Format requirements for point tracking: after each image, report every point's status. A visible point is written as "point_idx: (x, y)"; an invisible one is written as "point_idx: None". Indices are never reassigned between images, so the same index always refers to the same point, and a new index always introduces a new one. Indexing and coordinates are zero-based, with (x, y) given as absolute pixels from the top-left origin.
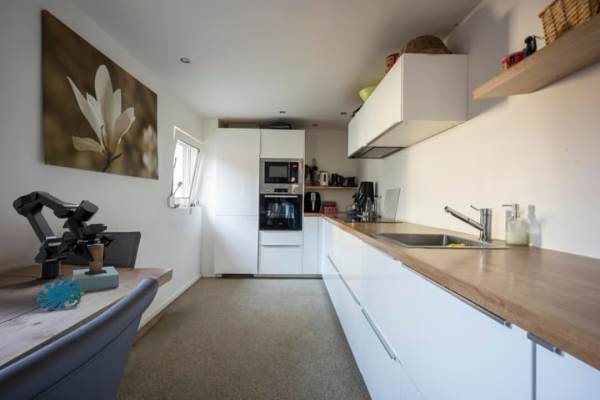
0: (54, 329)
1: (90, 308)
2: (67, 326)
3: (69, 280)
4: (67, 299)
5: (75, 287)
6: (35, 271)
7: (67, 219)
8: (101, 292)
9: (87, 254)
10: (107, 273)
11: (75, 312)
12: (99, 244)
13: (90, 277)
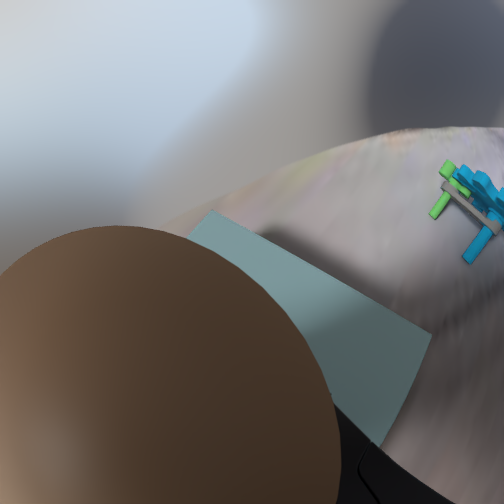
0: (487, 139)
1: (425, 151)
2: (472, 130)
3: (499, 191)
4: (470, 214)
5: (473, 174)
6: None
7: None
8: (329, 241)
9: (359, 441)
10: None
11: (455, 162)
12: (28, 381)
13: (356, 297)
